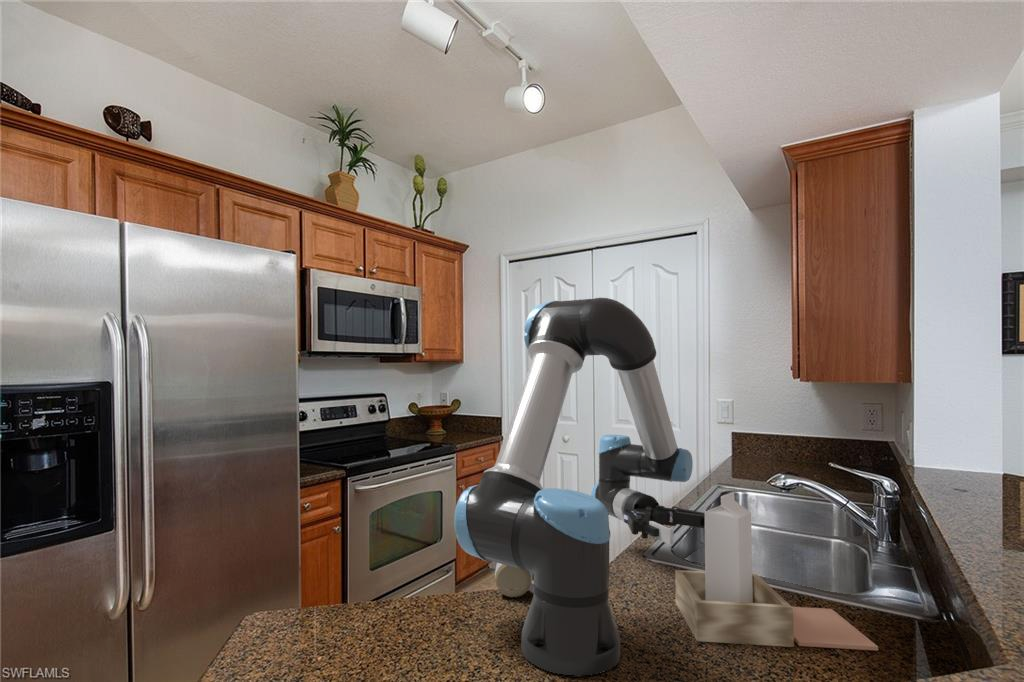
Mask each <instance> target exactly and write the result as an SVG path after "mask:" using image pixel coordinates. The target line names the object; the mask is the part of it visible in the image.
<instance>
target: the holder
mask: <svg viewBox="0 0 1024 682" xmlns="http://www.w3.org/2000/svg"><path fill="white" fill-rule="evenodd" d="M674 571H675V572H674V573H675V575H674V576H675V605H676V606H677V608H678V610H679V611H680V613H681V615H682V617H683V618H684V621H685V623H686V624H687V626H688V627H689V630H690V631H691V633H692V635H693V637H694V638H695V640H696V641H697V642H703V643H705V642H707V643H721V644H723V643H724V644H737V645H738V644H739V645H756V646H768V647H769V646H771V647H772V646H773V647H787V648H788V647H790V648H794V647H795V641H794V626H793V607H794V606H792V605H791V604H790V603H789V602H788V601H786V599H784V598H783V597H782V596H781V595H780V594H779V593H778V592H777V591H776V590H774V588H772V587H771V585H770V584H768V583H767V582H766V581H765V580H764V579H763V578H762V577H761V576H760V575H759V574H758V573H752V589H753V603H742V602H723V601H706V588H705V570H688V569H687V570H684V569H683V570H682V569H675V570H674Z"/></svg>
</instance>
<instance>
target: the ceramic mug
mask: <svg viewBox="0 0 1024 682" xmlns="http://www.w3.org/2000/svg"><path fill="white" fill-rule="evenodd" d="M494 581H495V587H496V588H497V589H498V591H499V590H503V591H499V592H500V593H501V594H502V595H504V596H506V597H508V598H513V597H515V598H520V597H522V596H523V595H525V594H526V593H527V592H528V591H529V592H530V593H532V594H533V593H534V583H533V582H534V573H533V572H530V571H527V570H522V569H519V568H515V567H511V566H508V565H504V564H500V563H496V566H495V571H494ZM532 581H533V582H532ZM514 588H520V589H514ZM506 589H513V590H506Z"/></svg>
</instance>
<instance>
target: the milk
mask: <svg viewBox="0 0 1024 682" xmlns="http://www.w3.org/2000/svg"><path fill="white" fill-rule="evenodd" d="M704 513H705V528H704V560H705V561H704V564H705V565H704V568H705V570H704V571H705V588H706V601H723V602H742V603H753V589H752V574H753V556H752V555H753V548H752V547H753V545H752V544H753V543H752V542H753V541H752V512H751V511H749V510H748V509H746V507H744V506H742V505H741V504H740V503H739V502H737V501H736V499H735V492H734V491H733V492H729V493H727V494H723V495H721V496H720V505H718V506H716V507H714V508H711V509H709V510H706V511H705V512H704Z"/></svg>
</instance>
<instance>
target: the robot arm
mask: <svg viewBox="0 0 1024 682" xmlns="http://www.w3.org/2000/svg"><path fill="white" fill-rule="evenodd" d="M523 328H524V330H523V331H524V333H525V334H524V335H523V336H524V337H523V339H524V343H525V347H526V349H527V354H528V355H529V358H530V360H531V363H530V365H529V368H528V370H527V374H526V377H525V378H524V379H525V380H524V382H523V385H522V388H521V390H520V393H519V396H518V399H517V403H516V405H515V407H514V411H513V413H512V416H511V419H510V422H509V424H508V428H507V430H506V433H505V435H504V439H503V442H502V444H501V447H500V450H499V453H498V455H497V457H496V458H497V459H496V460H495V463H494V465H493V466H492V467H490V468H488V469H486V470H484V471H483V473H482V475H481V478H480V481H479V483H478V485H472V486H468V487H467V488H466V489H464V490H463V491H462V492H461V494H460V496H459V498H458V500H457V502H456V506H455V510H454V515H453V516H454V518H453V519H454V520H453V522H454V523H453V524H454V526H453V527H454V531H455V533H456V535H455V536H456V540H457V542H458V545H459V546H460V547H461V549H462V550H463V551H464V552H465V553H466V554H469V555H470V556H472V557H475V558H477V559H481V560H482V561H484V562H486V563H487V562H494V563H496V564H497V563H500V564H504V565H508V566H511V567H515V568H519V569H522V570H527V571H530V572H533V573H534V581H533V584H534V593H532V594H533V596H532V598H531V602H530V605H529V609H528V610H527V614H526V617H525V620H524V623H523V625H522V626H523V627H522V629H521V639H520V640H521V643H520V649H521V653H522V655H523V656H524V658H525V659H526V660H527V662H529V663H530V662H531V663H530V664H531V665H533V664H534V665H533V666H535V665H536V666H537V667H536V666H535V667H536V668H538V667H539V668H538V669H540V668H541V670H543V669H544V670H543V671H545V670H546V671H545V672H548V671H549V672H548V673H551V672H553V673H552V674H555V673H558V674H557V675H559V674H565V675H574V676H573V677H583V676H582V675H591V674H596V673H600V672H603V671H606V672H608V671H610V670H611V669H610V668H612V667H613V668H614V667H615V666H617V665H618V663H619V661H620V658H621V638H620V634H619V631H618V628H617V627H618V626H617V624H616V620H615V617H614V615H613V611H612V607H611V604H610V598H609V597H610V592H609V591H610V587H609V586H610V540H611V529H610V521H609V519H610V518H609V516H612V517H613V518H615V519H618V520H621V521H622V522H623V523H624V524H626V525H628V527H629V530H630V531H631V534H632V535H635V536H637V535H639V533H641V538H642V539H645V540H646V539H649V537H651V538H654V539H656V540H658V541H660V542H663V543H665V544H667V545H669V546H673V545H674V542H675V541H674V537H675V536H674V528H673V529H672V528H670V527H668V526H671V527H675V526H677V525H679V526H680V525H681V526H687V527H693V528H701V529H705V512H704V511H703V512H702V511H698V510H696V511H695V510H692V509H686V508H681V507H677V506H671V507H666V506H664V505H661V504H660V503H659V502H658V500H657V499H656V498H655V497H654V496H652V495H649V494H646V493H645V492H644V493H643V492H641V491H638V490H634V489H632V488H631V486H630V484H631V483H630V482H631V477H634V478H645V479H650V480H651V479H652V480H658V481H666V482H670V483H671V482H676V483H677V482H679V483H685V482H688V481H690V479H691V476H692V474H693V473H692V472H693V468H694V467H693V466H694V465H693V456H692V452H690V451H689V450H688V449H686V448H682V447H679V448H678V443H677V440H676V437H675V433H674V430H673V426H672V423H671V419H670V416H669V415H670V414H669V412H668V408H667V405H666V401H665V398H664V394H663V390H662V387H661V383H660V380H659V376H658V372H657V367H656V364H655V362H654V360H655V359H656V357H657V350H656V346H655V343H654V339H653V337H652V335H651V333H650V331H649V329H648V328H647V326H646V324H645V323H644V322H643V321H642V319H641V318H640V317H639V316H638V315H637V313H635V312H634V311H633V310H632V309H631V308H629V307H627V306H626V305H625V304H624V303H622V302H620V301H617V300H616V299H612V298H608V297H594V298H584V299H573V300H553V301H549V302H544V303H540V304H538V305H536V306H534V308H532V310H531V311H530V312H529V314H528V316H527V318H526V320H525V324H524V327H523ZM586 356H604V357H607V359H608V361H609V364H610V366H611V368H612V369H614V370H615V371H617V374H618V375H619V379H620V382H621V385H622V388H623V392H624V394H625V398H626V399H627V403H628V406H629V409H630V412H631V415H632V418H633V420H634V425H635V427H636V430H637V433H638V437H639V439H640V442H641V444H632V443H631V438H630V436H627V435H624V434H623V435H622V434H603V435H602V436H601V437H600V439H599V449H598V450H599V451H598V478H599V479H598V482H596V483H595V484H594V486H593V488H592V489H591V490H592V491H591V493H590V494H588V493H584V492H581V491H578V490H577V491H576V490H572V489H569V488H568V489H567V488H566V489H562V488H557V487H556V488H555V487H554V488H553V487H551V488H543V486H542V484H541V479H542V475H543V471H544V468H545V465H546V461H547V459H548V454H549V451H550V448H551V444H552V441H553V439H554V437H555V436H554V435H555V432H556V429H557V426H558V422H559V419H560V416H561V412H562V408H563V405H564V403H565V399H566V395H567V392H568V389H569V386H570V382H571V379H572V376H573V374H575V373H577V372H580V370H582V368H583V364H584V361H585V358H586ZM671 519H672V520H671ZM613 668H612V669H613ZM609 669H610V670H609ZM607 670H608V671H607ZM603 673H604V672H603ZM600 674H601V673H600ZM565 675H564V676H565ZM578 675H580V676H578ZM591 676H592V675H591Z"/></svg>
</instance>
